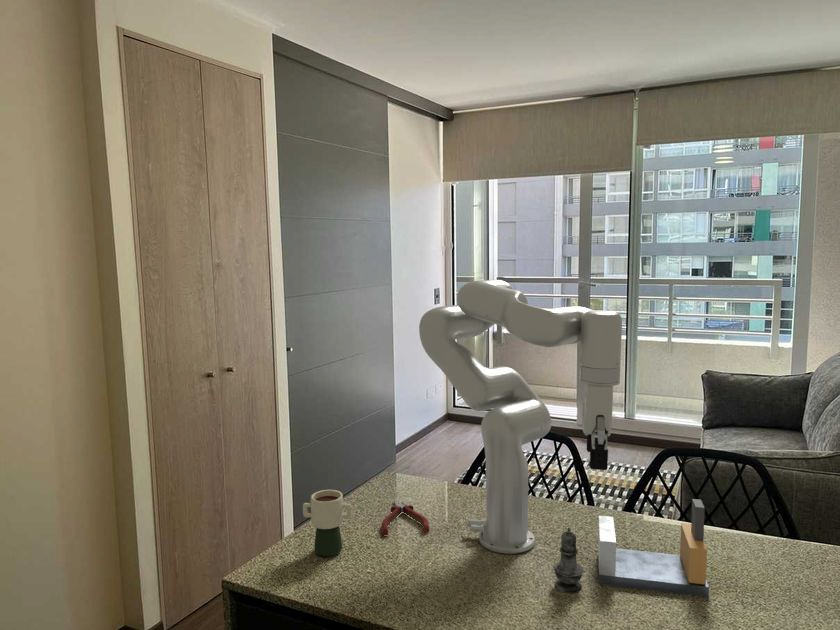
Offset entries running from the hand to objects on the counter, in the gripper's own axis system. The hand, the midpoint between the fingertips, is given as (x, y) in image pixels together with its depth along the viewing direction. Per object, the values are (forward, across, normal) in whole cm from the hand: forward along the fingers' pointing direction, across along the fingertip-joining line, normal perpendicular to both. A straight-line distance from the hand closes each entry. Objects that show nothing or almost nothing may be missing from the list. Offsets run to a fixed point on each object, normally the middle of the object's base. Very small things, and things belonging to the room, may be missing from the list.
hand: (596, 460), depth 121 cm
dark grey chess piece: (+25, +3, -5) cm, 26 cm away
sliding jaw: (+23, -4, +20) cm, 30 cm away
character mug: (+26, -2, -57) cm, 62 cm away
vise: (+25, -4, +12) cm, 28 cm away
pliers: (+27, -21, -43) cm, 55 cm away
